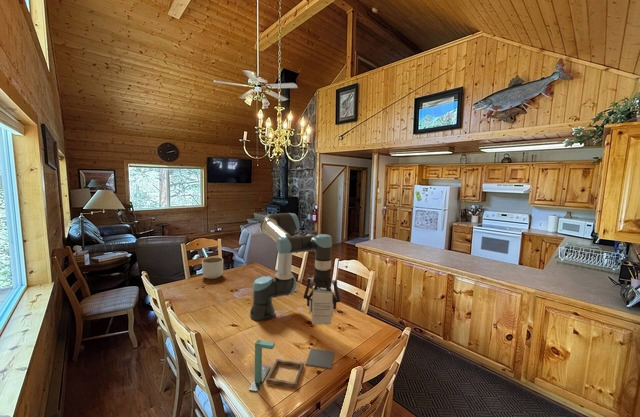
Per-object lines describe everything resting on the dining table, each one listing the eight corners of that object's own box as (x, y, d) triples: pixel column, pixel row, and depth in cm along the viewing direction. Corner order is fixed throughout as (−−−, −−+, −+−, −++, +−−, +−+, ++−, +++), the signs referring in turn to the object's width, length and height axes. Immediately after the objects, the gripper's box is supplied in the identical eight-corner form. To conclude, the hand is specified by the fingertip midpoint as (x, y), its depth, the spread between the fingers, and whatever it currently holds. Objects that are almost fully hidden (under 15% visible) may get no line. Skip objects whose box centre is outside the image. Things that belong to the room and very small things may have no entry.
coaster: (305, 365, 123) (305, 364, 123) (310, 349, 134) (310, 348, 134) (331, 369, 121) (331, 367, 120) (334, 352, 132) (334, 351, 132)
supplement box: (311, 315, 129) (312, 285, 128) (329, 315, 130) (331, 285, 129) (311, 324, 120) (313, 292, 119) (331, 325, 121) (333, 293, 120)
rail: (248, 390, 107) (248, 389, 107) (262, 366, 121) (262, 365, 121) (257, 392, 106) (257, 391, 106) (270, 367, 120) (270, 366, 120)
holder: (266, 383, 111) (266, 379, 110) (276, 363, 123) (276, 359, 123) (296, 388, 108) (296, 384, 108) (303, 367, 121) (303, 363, 121)
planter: (197, 279, 221) (197, 262, 220) (209, 273, 238) (209, 256, 237) (216, 281, 219) (216, 263, 217) (227, 274, 235) (227, 257, 234)
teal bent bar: (254, 382, 110) (255, 343, 108) (257, 378, 113) (257, 339, 111) (271, 385, 109) (272, 345, 107) (274, 381, 111) (274, 342, 110)
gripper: (297, 268, 121) (296, 315, 123) (346, 273, 117) (344, 321, 119) (301, 263, 128) (300, 307, 131) (347, 267, 124) (345, 313, 127)
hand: (321, 314), depth 125 cm, fingers closed on supplement box, 10 cm apart
